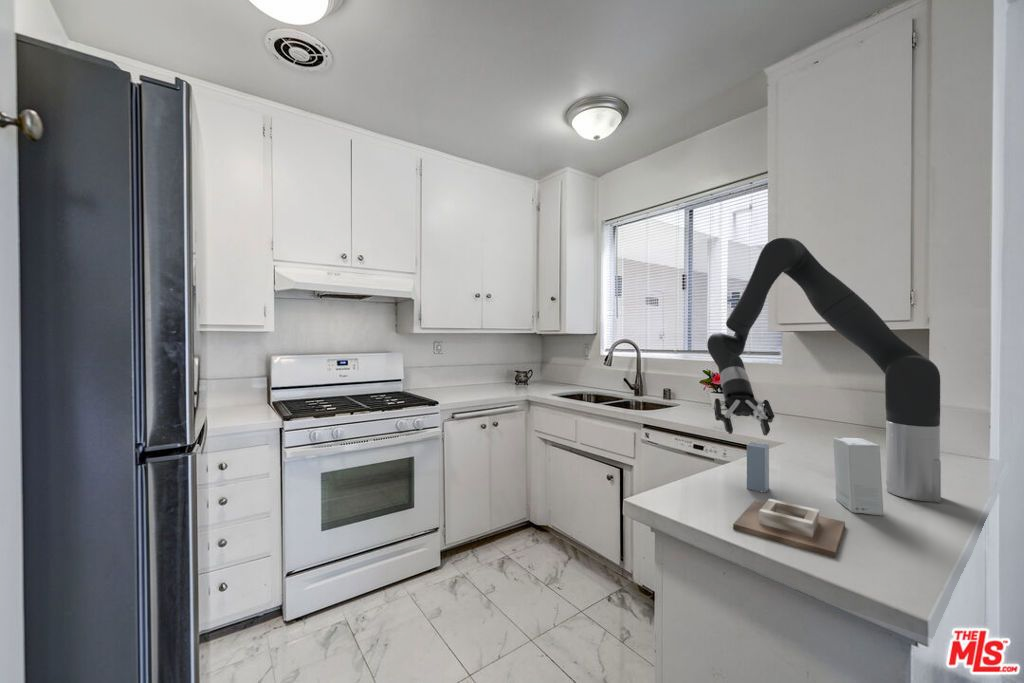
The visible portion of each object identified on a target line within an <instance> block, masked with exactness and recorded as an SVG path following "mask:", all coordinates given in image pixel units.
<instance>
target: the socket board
mask: <svg viewBox="0 0 1024 683" xmlns="http://www.w3.org/2000/svg"><path fill="white" fill-rule="evenodd" d="M732 525H733V526H732V529H733V530H736V531H739V532H741V533H745V534H746V533H747V534H750V535H753V536H757V537H760V538H764V539H766V540H767V539H768V540H771V541H774V542H778V543H781V544H785V545H788V546H793V547H795V548H799V549H802V550H806V551H810V552H812V553H817V554H820V555H823V556H827V557H830V558H836V557H837V553H838V550H839V547H840V544H841V540H842V537H843V535H844V531H845V527H846V522H845V521H843V520H839V519H834V518H830V517H826V516H822V515H820V509H817V508H814V507H810V506H809V507H808V506H805V505H800V504H795V503H791V502H786V501H782V500H779V499H773V498H768V499H767V501H766V502H762V501H758V500H754V501H753V502H751V504H750V505H749V506H748V507H747V508H746V509H745V510H744V511H743V512H742V514H740V516H739V517H738V518H737V519H735V521H734V522H733V524H732Z"/></svg>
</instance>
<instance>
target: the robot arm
mask: <svg viewBox="0 0 1024 683" xmlns="http://www.w3.org/2000/svg"><path fill="white" fill-rule="evenodd" d="M782 273H784V274H785V275H786V276H788V277H789V278H791V280H793V281H794V282H795V283H796V284H797V285H798V286H799V287H800V288H801V289H802V291H803V292H804V294H805V296H806V298H807V299H808V301H809V303H810V305H811V306H812V307H813V309H814V310H815V312H816V313H817V314H818V315H819V316H820V317H821V318H822V319H823V320H824V321H825V322H826V323H827V324H828V326H830V327H831V328H832V329H833V330H834V331H836V332H837V333H839V334H840V335H841V336H842V337H844V338H845V339H846V340H847V341H849V342H850V343H852V344H854V345H855V346H856V347H858V348H859V349H860V350H861V351H863V352H864V353H865V354H867V356H869V358H870V359H871V360H872V361H873V362H874V363H875V364H876V365H877V366H878V368H880V370H881V371H882V372H883V373H884V376H885V377H884V381H885V382H884V383H885V384H884V388H885V389H884V392H885V403H884V405H885V406H884V407H885V415H886V416H885V423H886V424H885V425H886V428H885V431H886V432H885V433H886V435H885V436H886V438H885V441H886V442H885V443H886V444H885V447H886V448H885V450H886V451H885V454H886V455H885V457H886V458H885V460H886V464H885V467H886V468H885V474H886V480H885V485H886V491H887V492H888V493H890V494H892V495H894V496H898V497H901V498H905V499H908V500H914V501H920V502H932V503H940V504H941V503H942V482H941V481H942V476H941V475H942V472H941V471H942V466H941V465H942V461H941V374H940V373H941V372H940V370H939V369H938V367H937V365H936V364H935V363H934V362H933V361H932V360H930V359H929V358H927V357H925V356H923V355H922V354H921V353H919V352H918V351H917V350H915V349H914V348H912V347H911V346H910V345H908V344H907V343H906V342H905V341H903V340H902V339H901V338H900V337H899V336H898V335H897V334H895V333H894V332H893V331H892V329H890V327H889V326H888V325H887V324H886V322H885V321H884V320H883V319H882V318H881V316H879V315H878V313H877V312H876V311H875V310H874V309H873V308H872V307H871V306H870V305H869V304H868V302H866V301H865V300H864V299H863V298H862V297H860V296H859V294H857V293H856V292H855V291H854V290H853V289H851V288H850V287H849V286H847V285H846V284H845V283H844V282H843V281H841V279H839V278H838V277H837V276H835V275H834V274H832V272H830V271H828V270H827V269H826V268H825V267H824V266H823V265H822V264H821V263H820V261H818V260H817V259H816V258H815V256H814V255H813V254H812V252H810V251H809V249H808V248H807V247H806V246H805V245H804V243H802V242H801V241H800V240H797V239H796V238H792V237H775V238H773V239H771V240H769V241H767V242H766V243H765V244H764V245H763V247H762V249H761V250H760V253H759V255H758V259H757V261H756V263H755V266H754V269H753V271H752V273H751V276H750V278H749V280H748V282H747V284H746V286H745V289H743V292H742V294H741V296H740V297H739V299H738V301H737V303H736V304H735V307H734V308H733V310H732V311H731V312H730V314H729V316H728V318H727V320H726V321H725V325H726V327H727V328H728V329H729V330H731V331H733V332H734V335H733V336H732V335H730V334H726V333H722V332H714V333H712V334H711V335H709V338H708V339H707V342H706V343H707V344H706V346H707V350H708V353H709V354H710V357H711V358H712V359H713V361H714V363H715V364H716V366H717V367H718V372H719V378H720V388H722V389H721V390H722V393H723V398H724V400H720V398H715V399H714V403H713V408H714V410H713V411H714V416H715V418H714V419H715V420H716V421H722V422H723V426H724V430H725V431H726V433H727V434H729V435H732V434H733V430H734V429H733V424H732V420H731V419H732V418H733V416H734V415H735V416H736V417H742V416H743V417H751V418H752V419H753V420H756V421H757V422H759V423H760V427H761V431H762V435H763V436H766V437H767V436H768V434H769V433H770V431H771V427H770V424H771V423H773V421H774V418H775V414H774V412H773V409H772V407H771V404H770V402H769V400H768V399H764V400H763V401H758V400H756V399H755V394H754V393H753V392H754V391H753V389H752V384H751V382H750V378H749V376H748V373H747V372H746V368H745V364H744V361H743V359H742V358H741V357H740V356H741V355H742V354H743V352H744V351H745V348H746V343H747V339H748V337H749V334H750V331H751V329H752V327H753V326H754V324H755V322H756V320H757V319H758V318H759V317H760V315H761V313H762V310H763V308H764V305H765V302H766V300H767V296H768V295H769V292H770V290H771V288H772V286H773V285H774V283H775V281H776V280H777V279H778V278H779V277H780V276H781V275H782ZM723 406H724V407H725V408H726V409H727V411H726V412H725V414H723V413H722V408H723ZM762 411H763V412H762Z"/></svg>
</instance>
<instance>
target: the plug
mask: <svg viewBox="0 0 1024 683" xmlns="http://www.w3.org/2000/svg"><path fill="white" fill-rule="evenodd" d="M747 488H748V489H747ZM746 489H747V490H749V489H753V490H752V491H754V490H757V491H756V492H758V491H762V492H761V493H763V492H766V491H767V492H768V490H769V489H770V444H767V443H757V442H752V441H751V442H749V443H748V444H746ZM767 492H766V493H767Z"/></svg>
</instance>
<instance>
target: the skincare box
mask: <svg viewBox="0 0 1024 683" xmlns="http://www.w3.org/2000/svg"><path fill="white" fill-rule="evenodd" d="M833 458H834V461H833V462H834V479H835V482H834V484H835V485H834V486H835V500H836V501H837V502H838V503H840V504H841V505H842V506H843V507H845V508H846V509H847V510H849V511H850V512H852V513H853V514H854V513H856V514H864V515H865V514H866V515H872V516H881V517H882V516H884V499H883V479H882V478H883V477H882V463H881V462H882V461H881V445H879V444H878V443H877V444H876V443H874V442H871V441H869V440H867V439H863V438H861V437H860V438H859V437H858V438H857V437H833Z"/></svg>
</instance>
